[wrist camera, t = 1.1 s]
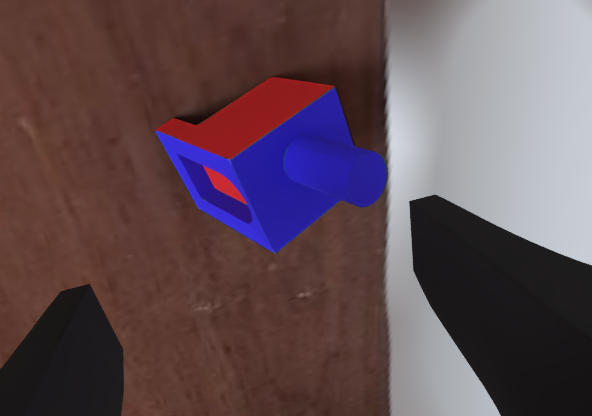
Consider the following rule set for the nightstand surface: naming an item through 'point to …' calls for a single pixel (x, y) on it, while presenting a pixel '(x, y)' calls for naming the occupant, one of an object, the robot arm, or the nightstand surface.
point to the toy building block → (274, 160)
